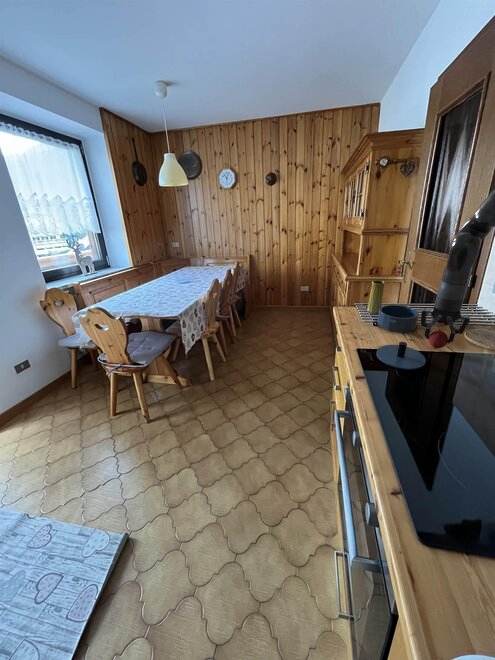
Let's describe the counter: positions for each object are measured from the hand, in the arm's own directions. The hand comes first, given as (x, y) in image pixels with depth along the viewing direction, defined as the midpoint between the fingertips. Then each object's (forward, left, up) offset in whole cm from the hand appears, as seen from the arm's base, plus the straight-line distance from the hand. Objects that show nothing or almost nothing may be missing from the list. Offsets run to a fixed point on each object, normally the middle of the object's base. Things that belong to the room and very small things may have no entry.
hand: (437, 339), depth 99 cm
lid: (+9, +12, -4) cm, 15 cm away
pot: (+16, -14, -4) cm, 22 cm away
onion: (0, 0, -4) cm, 4 cm away
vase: (+28, -25, -5) cm, 38 cm away
